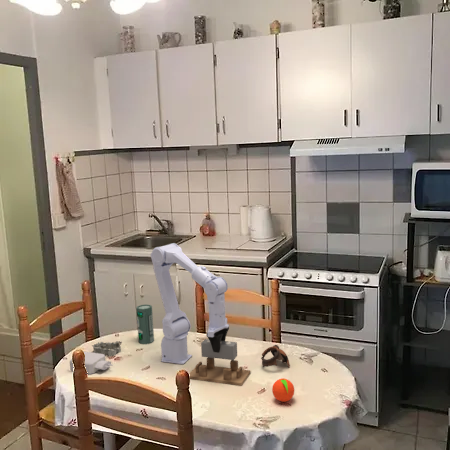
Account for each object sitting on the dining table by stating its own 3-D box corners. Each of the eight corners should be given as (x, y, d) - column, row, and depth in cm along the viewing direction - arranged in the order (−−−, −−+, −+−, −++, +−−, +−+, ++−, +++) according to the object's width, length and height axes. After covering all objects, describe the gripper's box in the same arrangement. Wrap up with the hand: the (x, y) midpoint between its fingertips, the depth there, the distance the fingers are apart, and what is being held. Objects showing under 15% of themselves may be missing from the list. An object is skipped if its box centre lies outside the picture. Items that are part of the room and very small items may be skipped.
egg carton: (123, 351, 206) (123, 341, 205) (111, 358, 199) (111, 348, 199) (103, 347, 211) (102, 337, 210) (90, 354, 204) (89, 344, 203)
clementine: (299, 405, 157) (298, 384, 156) (277, 409, 156) (276, 387, 155) (290, 393, 165) (289, 372, 164) (269, 396, 164) (269, 375, 163)
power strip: (201, 356, 182) (201, 342, 181) (205, 352, 186) (205, 338, 185) (233, 360, 178) (233, 345, 177) (237, 355, 182) (236, 341, 181)
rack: (187, 378, 179) (186, 366, 178) (198, 366, 188) (197, 355, 187) (241, 385, 172) (241, 373, 171) (250, 373, 181) (250, 361, 180)
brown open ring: (292, 372, 181) (282, 356, 179) (269, 382, 183) (258, 366, 181) (290, 351, 192) (280, 335, 190) (267, 361, 194) (257, 345, 192)
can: (141, 338, 218) (138, 304, 215) (155, 338, 217) (153, 304, 215) (137, 344, 212) (134, 309, 209) (151, 344, 211) (149, 309, 209)
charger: (104, 377, 182) (70, 371, 188) (119, 367, 190) (86, 361, 196) (103, 365, 181) (69, 359, 187) (118, 355, 190) (85, 350, 196)
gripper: (220, 320, 171) (222, 358, 173) (234, 307, 185) (236, 342, 187) (201, 318, 174) (202, 356, 176) (216, 305, 187) (217, 341, 189)
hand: (218, 349), depth 182 cm, fingers closed on power strip, 4 cm apart
